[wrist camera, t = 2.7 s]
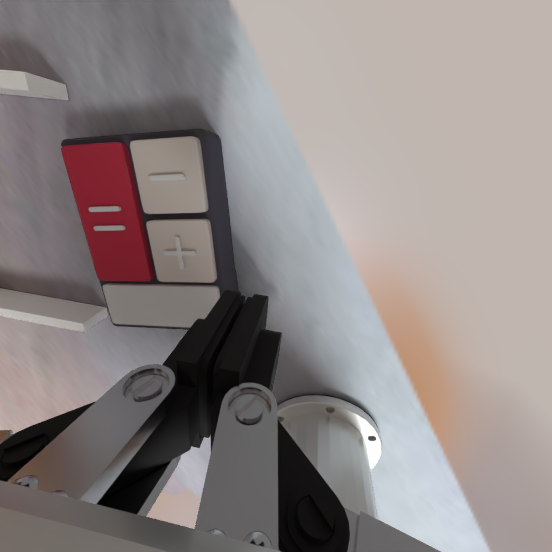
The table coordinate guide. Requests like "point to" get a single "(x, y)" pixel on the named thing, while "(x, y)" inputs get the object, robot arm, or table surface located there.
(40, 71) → the table surface
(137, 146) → the calculator
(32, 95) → the white u-shaped fence
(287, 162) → the table surface
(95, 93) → the table surface
